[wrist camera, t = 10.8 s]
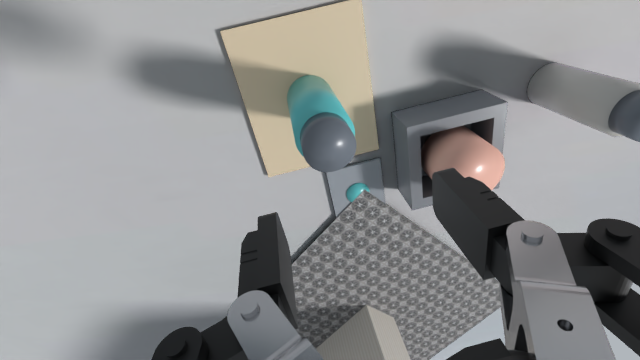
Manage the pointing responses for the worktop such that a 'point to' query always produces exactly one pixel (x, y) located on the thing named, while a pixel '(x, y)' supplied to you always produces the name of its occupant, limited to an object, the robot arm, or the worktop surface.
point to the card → (355, 183)
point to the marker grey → (589, 98)
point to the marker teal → (320, 124)
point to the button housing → (424, 120)
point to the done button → (463, 155)
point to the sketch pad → (300, 60)
